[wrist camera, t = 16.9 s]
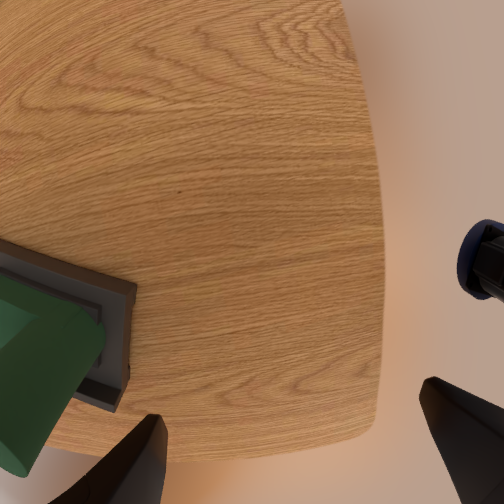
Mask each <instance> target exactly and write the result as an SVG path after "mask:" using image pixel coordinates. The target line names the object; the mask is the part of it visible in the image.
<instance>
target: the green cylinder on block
mask: <svg viewBox="0 0 504 504" xmlns="http://www.w3.org/2000/svg"><path fill="white" fill-rule="evenodd" d="M101 311H102V306H101V305H99V304H96V303H93V302H90V301H87V300H84V299H81V298H78V297H75V296H73V295H70V294H67V293H64V292H62V291H59V290H56V289H53V288H51V287H48V286H46V285H43V284H40V283H38V282H35V281H33V280H30V279H28V278H25V277H23V276H21V275H18V274H16V273H13V272H11V271H9V270H6V269H4V268H2V267H0V467H1V468H3V469H4V470H6V471H8V472H9V473H12V474H13V475H16V476H18V477H23V478H25V477H27V476H28V474H29V472H30V470H31V468H32V466H33V464H34V462H35V461H36V459H37V457H38V455H39V453H40V451H41V449H42V448H43V446H44V444H45V442H46V440H47V439H48V437H49V435H50V433H51V432H52V430H53V428H54V426H55V425H56V423H57V421H58V420H59V418H60V416H61V414H62V413H63V411H64V409H65V408H66V406H67V404H68V403H69V401H70V400H71V398H72V396H73V395H74V393H75V391H76V390H77V388H78V387H79V385H80V383H81V382H82V380H83V379H84V377H85V376H86V374H87V372H88V371H89V369H90V368H91V366H92V367H94V368H97V369H98V368H99V366H100V365H101V351H102V350H103V348H104V346H105V341H106V334H105V329H104V326H103V324H102V322H101Z"/></svg>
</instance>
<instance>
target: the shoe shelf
mask: <svg viewBox="0 0 504 504" xmlns="http://www.w3.org/2000/svg"><path fill="white" fill-rule="evenodd" d="M0 267H2V268H4V269H6V270H9V271H11V272H13V273H16V274H18V275H21V276H23V277H25V278H28V279H30V280H33V281H35V282H38V283H40V284H43V285H46V286H48V287H51V288H53V289H56V290H59V291H62V292H64V293H67V294H70V295H73V296H75V297H78V298H81V299H84V300H87V301H90V302H93V303H96V304H99V305H101V306H102V311H101V322H102V324H103V326H104V329H105V334H106V341H105V346H104V348H103V350H102V351H101V365H100V366H99V368H98V369H97V368H94V367H92V366H91V368H90V369H89V371H88V372H87V374H86V376H85V377H84V379H83V380H82V382H81V383H80V385H79V387H78V388H77V390H76V391H75V393H74V395H73V396H72V397H73V398H76V399H78V400H80V401H83V402H85V403H88V404H91V405H93V406H96V407H98V408H101V409H104V410H107V411H109V412H112V413H115V411H116V409H117V407H118V404H119V402H120V400H121V397H122V396H123V393H124V391H125V389H126V387H127V383H128V381H129V379H130V366H129V365H128V356H129V339H130V325H131V314H132V306H133V305H134V303H135V299H136V290H137V284H134V283H131V282H127V281H124V280H121V279H117V278H114V277H110V276H107V275H104V274H101V273H97V272H94V271H91V270H88V269H85V268H81V267H78V266H75V265H72V264H69V263H66V262H63V261H60V260H57V259H54V258H51V257H48V256H45V255H42V254H39V253H37V252H34V251H31V250H28V249H25V248H23V247H20V246H17V245H14V244H12V243H9V242H6V241H4V240H1V239H0Z"/></svg>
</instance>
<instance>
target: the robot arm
mask: <svg viewBox="0 0 504 504" xmlns="http://www.w3.org/2000/svg"><path fill="white" fill-rule="evenodd" d="M465 287H466V288H467V289H469V290H472V291H475V292H478V293H482V294H485V295H488V296H491V297H494V298H497V299H499V300H500V301H502V302H503V303H504V232H503V231H501V230H500V229H498V228H496V227H495V226H493V225H491V224H487V225H486V226H485V229H484V232H483V235H482V238H481V241H480V245H479V248H478V251H477V253H476V256H475V259H474V262H473V265H472V267H471V270H470V273H469V275H468V278H467V280H466V283H465ZM419 401H420V404H421V407H422V410H423V412H424V415H425V418H426V421H427V424H428V427H429V430H430V432H431V434H432V437H433V439H434V441H435V443H436V445H437V448H438V450H439V452H440V454H441V456H442V459H443V461H444V463H445V465H446V467H447V470H448V472H449V474H450V476H451V479H452V481H453V484H454V486H455V489H456V491H457V493H458V496H459V498H460V501H461V503H462V504H504V409H503V408H501V407H499V406H497V405H494V404H492V403H489V402H488V401H486V400H484V399H482V398H479V397H477V396H475V395H473V394H471V393H469V392H466V391H465V390H462V389H460V388H458V387H456V386H454V385H452V384H450V383H448V382H446V381H444V380H442V379H440V378H438V377H435V376H433V377H430V378H427V379H425V380H424V382H423V385H422V388H421V391H420V394H419ZM167 443H168V431H167V428H166V426H165V423H164V421H163V418H162V416H161V415H159V414H148V415H147V416H146V417H145V418H144V419H143V420H142V421H141V422H140V423H139V424H138V425H137V426H136V427H135V428H134V429H133V430H132V431H131V432H130V433H128V434H127V435H126V436H125V437H124V438H123V439H122V440H121V441H120V442H119V443H118V444H117V445H116V446H115V447H114V448H113V449H112V450H111V451H110V452H109V453H108V454H107V455H106V456H105V457H103V458H102V459H101V460H100V461H99V462H98V463H97V464H96V465H95V466H94V467H93V468H92V469H91V470H90V471H89V472H88V473H86V475H84V476H83V477H82V478H81V479H80V480H79V481H78V482H76V483H75V484H74V485H73V486H72V487H71V488H69V489H68V490H67V491H65V492H64V493H63V494H61V495H60V496H59V497H57V498H56V499H54V500H53V501H51V502H50V503H48V504H160V501H161V496H162V490H163V485H164V479H165V473H166V459H167Z"/></svg>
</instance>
